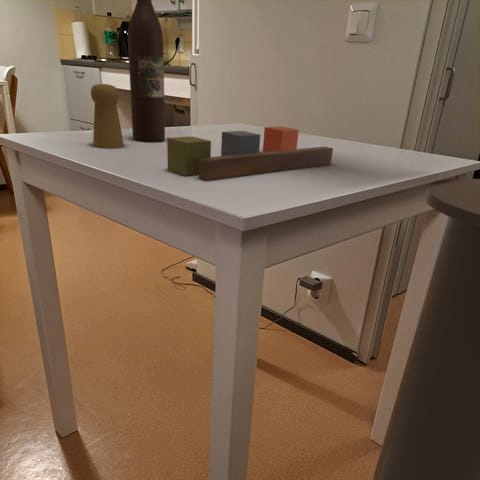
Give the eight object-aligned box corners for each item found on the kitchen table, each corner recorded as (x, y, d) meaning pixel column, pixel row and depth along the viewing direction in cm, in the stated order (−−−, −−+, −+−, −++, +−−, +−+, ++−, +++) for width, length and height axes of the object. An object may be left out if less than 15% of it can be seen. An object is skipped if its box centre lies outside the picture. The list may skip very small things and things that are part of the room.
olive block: (210, 173, 75) (211, 140, 72) (185, 176, 72) (185, 142, 69) (191, 167, 78) (192, 136, 76) (167, 170, 75) (167, 137, 73)
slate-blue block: (258, 163, 85) (260, 134, 83) (238, 165, 82) (240, 135, 80) (240, 158, 88) (242, 130, 86) (220, 160, 85) (221, 131, 83)
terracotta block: (295, 155, 96) (298, 129, 93) (279, 156, 93) (282, 130, 90) (278, 151, 99) (281, 126, 96) (262, 152, 96) (264, 127, 93)
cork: (116, 149, 89) (112, 85, 83) (87, 146, 90) (81, 83, 84) (128, 144, 94) (125, 85, 89) (101, 142, 95) (96, 82, 89)
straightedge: (330, 164, 89) (333, 148, 87) (206, 180, 70) (206, 160, 68) (322, 162, 90) (325, 146, 89) (198, 178, 71) (198, 158, 70)
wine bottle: (138, 142, 97) (130, -33, 83) (129, 137, 103) (120, -28, 88) (169, 141, 100) (167, -27, 86) (159, 137, 106) (155, -23, 91)
